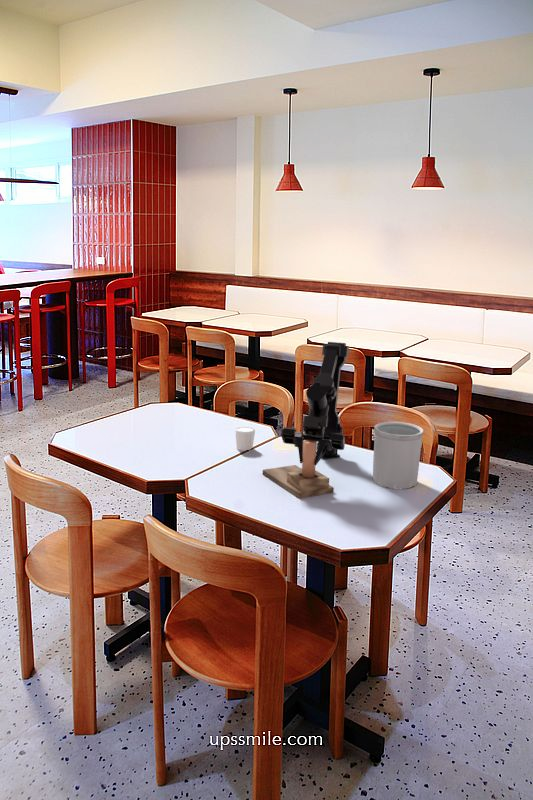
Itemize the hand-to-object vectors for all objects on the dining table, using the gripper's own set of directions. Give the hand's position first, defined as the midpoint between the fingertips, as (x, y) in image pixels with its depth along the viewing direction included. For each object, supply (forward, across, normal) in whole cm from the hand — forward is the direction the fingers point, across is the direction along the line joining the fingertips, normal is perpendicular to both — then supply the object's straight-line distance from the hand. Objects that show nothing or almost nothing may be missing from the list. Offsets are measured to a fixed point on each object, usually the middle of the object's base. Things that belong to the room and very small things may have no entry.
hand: (308, 463), depth 199 cm
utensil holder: (-6, +24, +19) cm, 31 cm away
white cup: (-17, -29, +30) cm, 45 cm away
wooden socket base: (+2, -4, +10) cm, 11 cm away
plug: (+2, 0, +4) cm, 5 cm away
